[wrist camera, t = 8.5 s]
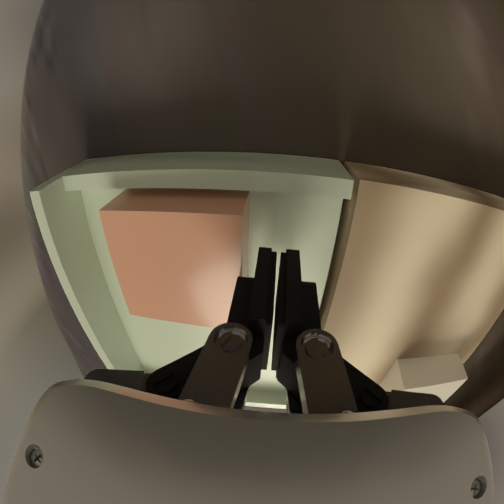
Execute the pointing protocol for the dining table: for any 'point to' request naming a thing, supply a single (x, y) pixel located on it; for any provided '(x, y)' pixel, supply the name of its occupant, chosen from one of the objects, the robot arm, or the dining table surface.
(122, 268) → the terracotta tile
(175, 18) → the dining table surface
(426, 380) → the cream tile
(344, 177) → the bin
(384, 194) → the birch plate
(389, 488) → the robot arm
